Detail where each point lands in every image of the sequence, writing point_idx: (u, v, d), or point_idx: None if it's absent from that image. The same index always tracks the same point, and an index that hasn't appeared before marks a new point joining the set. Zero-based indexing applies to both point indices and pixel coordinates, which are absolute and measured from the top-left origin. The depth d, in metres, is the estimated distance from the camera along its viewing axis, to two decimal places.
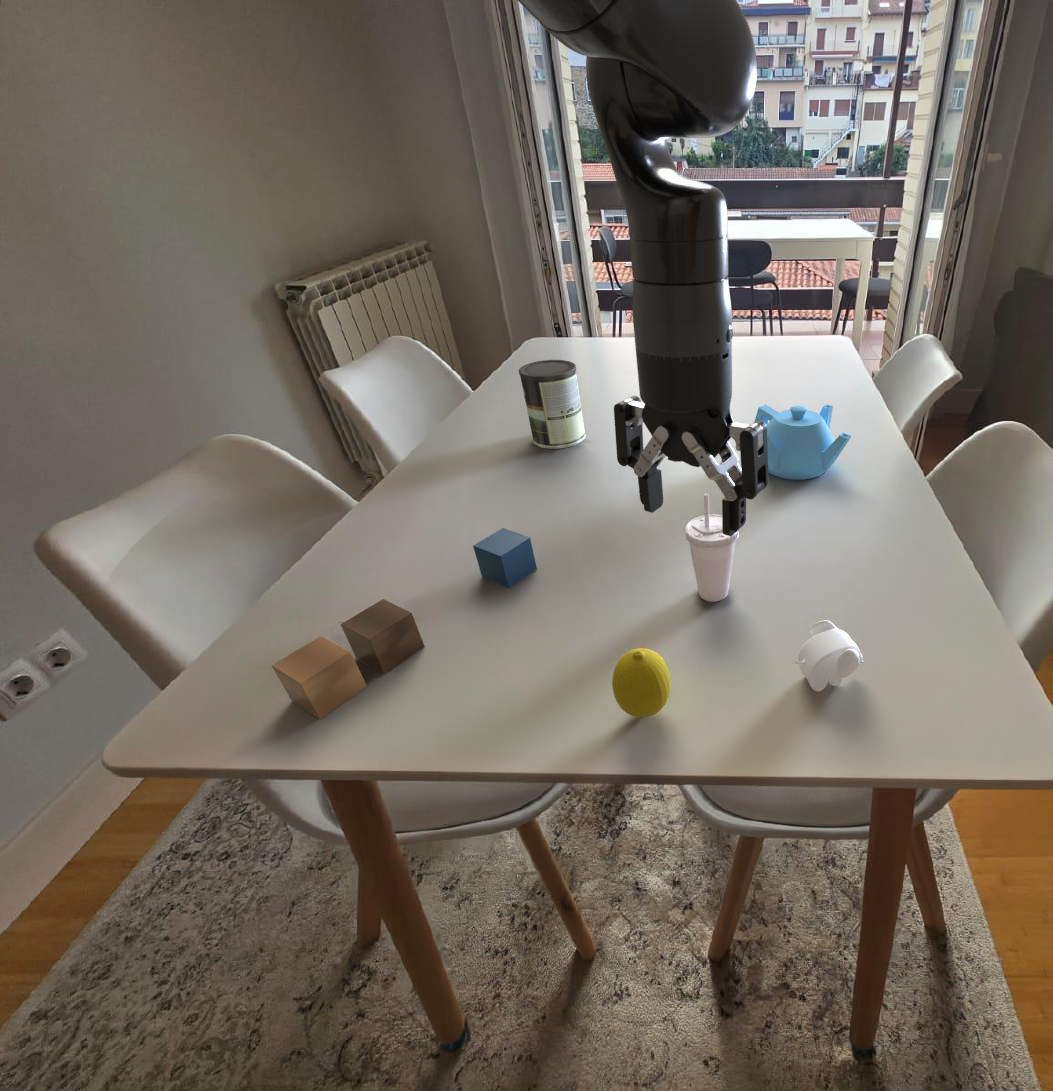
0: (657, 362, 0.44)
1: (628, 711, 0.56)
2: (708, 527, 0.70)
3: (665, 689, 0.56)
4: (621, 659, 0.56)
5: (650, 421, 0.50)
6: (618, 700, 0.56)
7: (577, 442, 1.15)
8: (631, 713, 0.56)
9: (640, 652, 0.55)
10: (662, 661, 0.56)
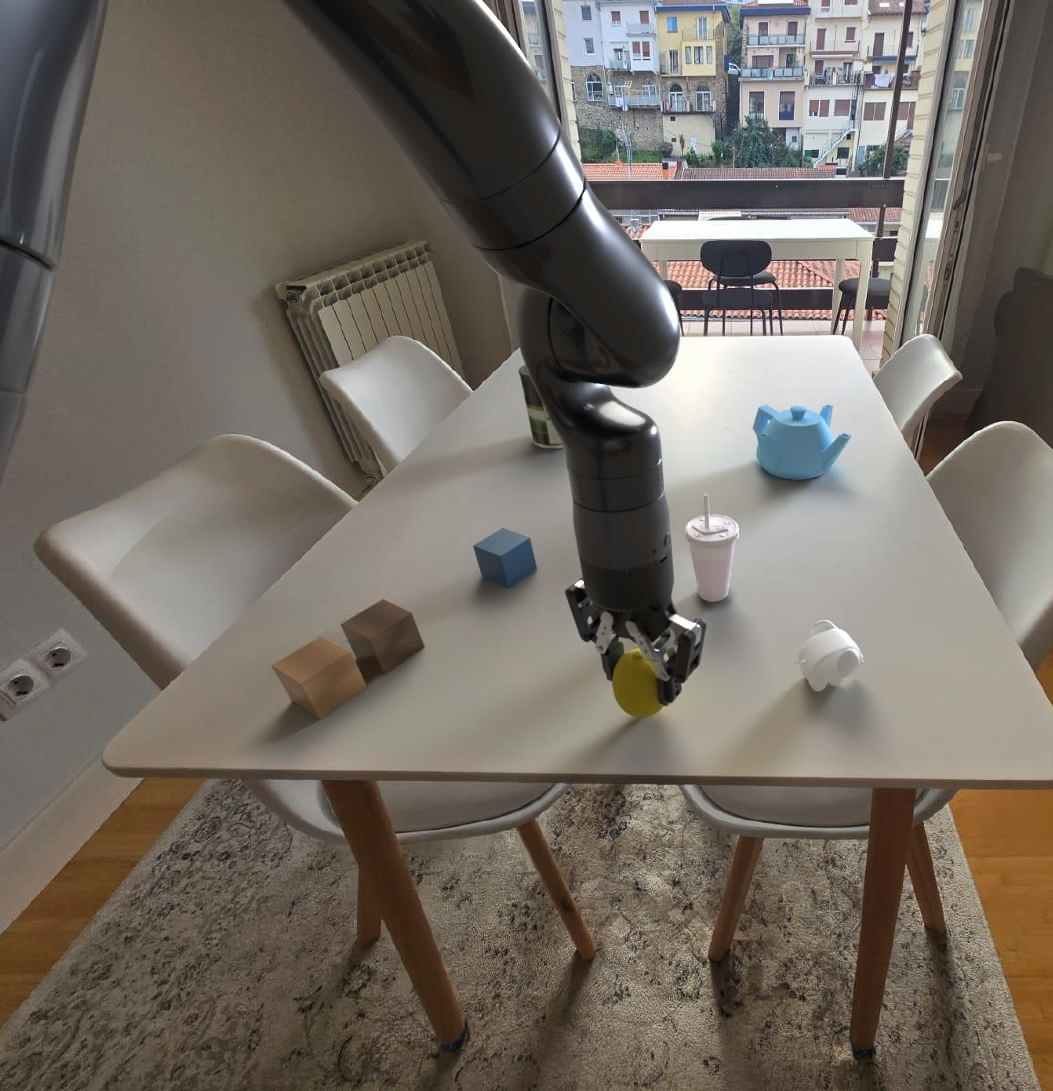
0: (596, 571, 0.46)
1: (628, 711, 0.56)
2: (708, 527, 0.70)
3: None
4: (621, 659, 0.56)
5: None
6: (618, 700, 0.56)
7: None
8: (631, 713, 0.56)
9: (640, 652, 0.55)
10: None
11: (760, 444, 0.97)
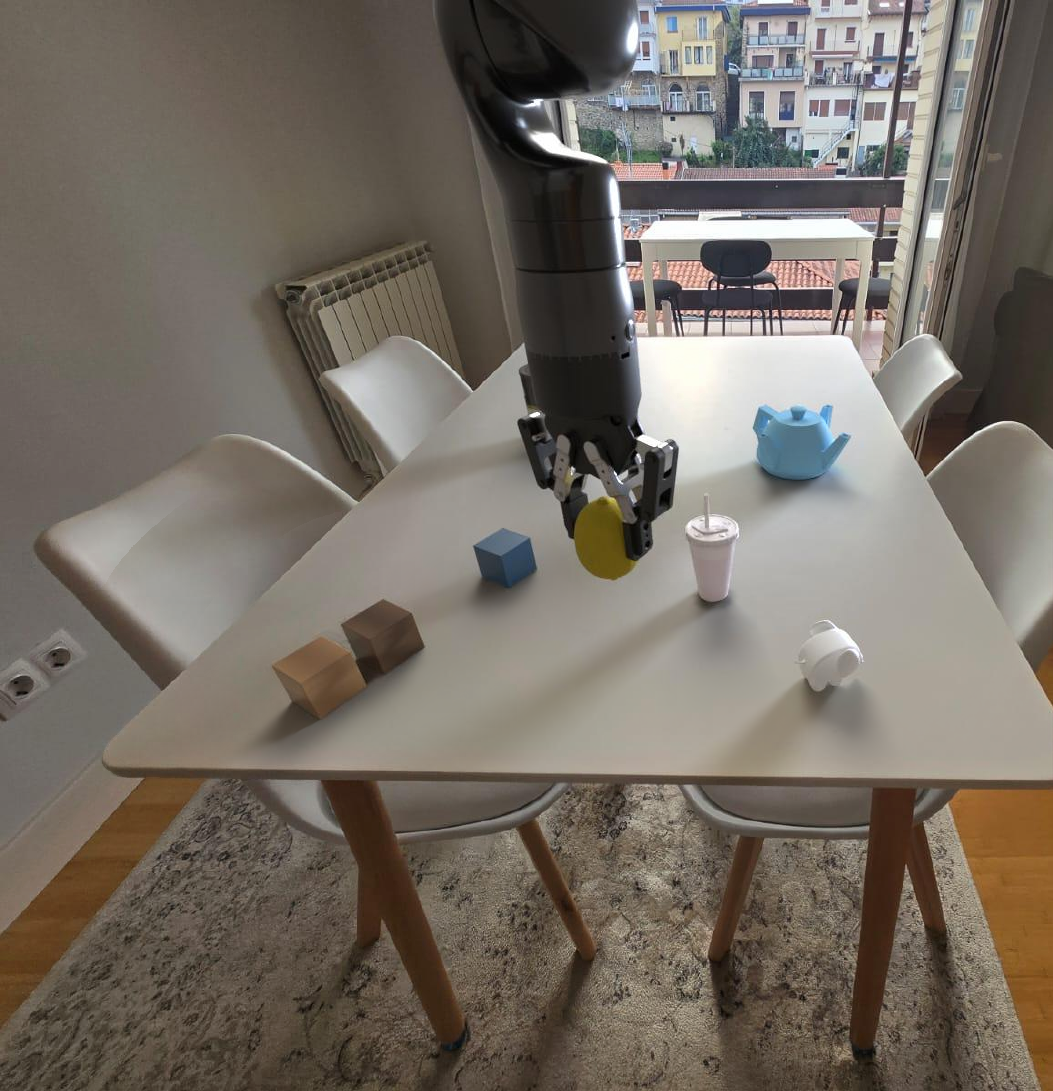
0: (544, 362, 0.38)
1: (592, 568, 0.48)
2: (708, 527, 0.70)
3: None
4: (584, 507, 0.48)
5: (552, 428, 0.45)
6: (580, 555, 0.48)
7: None
8: (595, 571, 0.48)
9: (605, 497, 0.47)
10: None
11: (760, 444, 0.97)
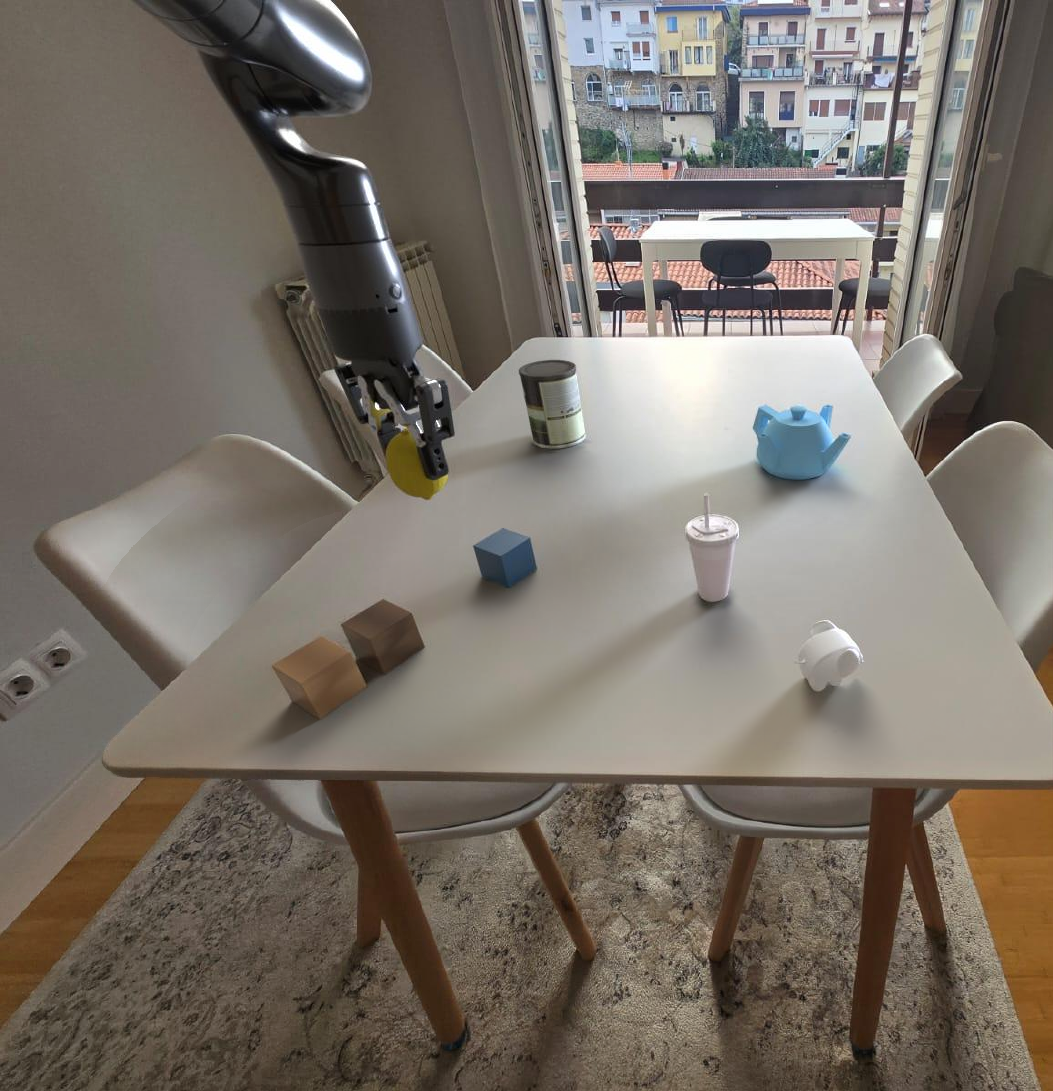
0: (325, 315, 0.50)
1: (400, 486, 0.60)
2: (708, 527, 0.70)
3: None
4: (393, 438, 0.60)
5: (357, 372, 0.57)
6: (390, 475, 0.60)
7: (577, 442, 1.15)
8: (403, 488, 0.60)
9: None
10: None
11: (760, 444, 0.97)
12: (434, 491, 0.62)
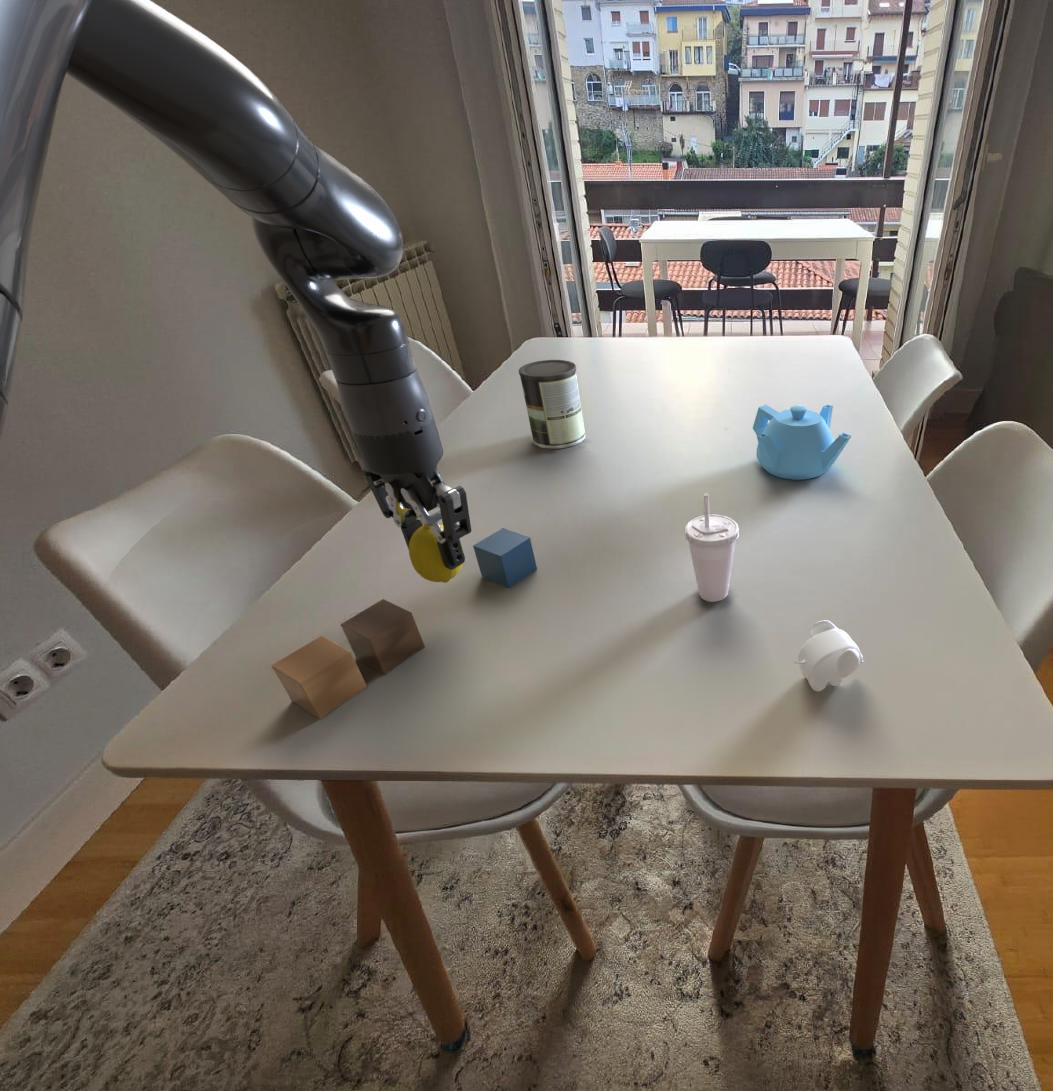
0: (359, 438, 0.57)
1: (421, 574, 0.67)
2: (708, 527, 0.70)
3: None
4: (415, 531, 0.67)
5: (384, 477, 0.64)
6: (413, 565, 0.67)
7: (577, 442, 1.15)
8: (424, 576, 0.67)
9: None
10: None
11: (760, 444, 0.97)
12: (452, 576, 0.69)
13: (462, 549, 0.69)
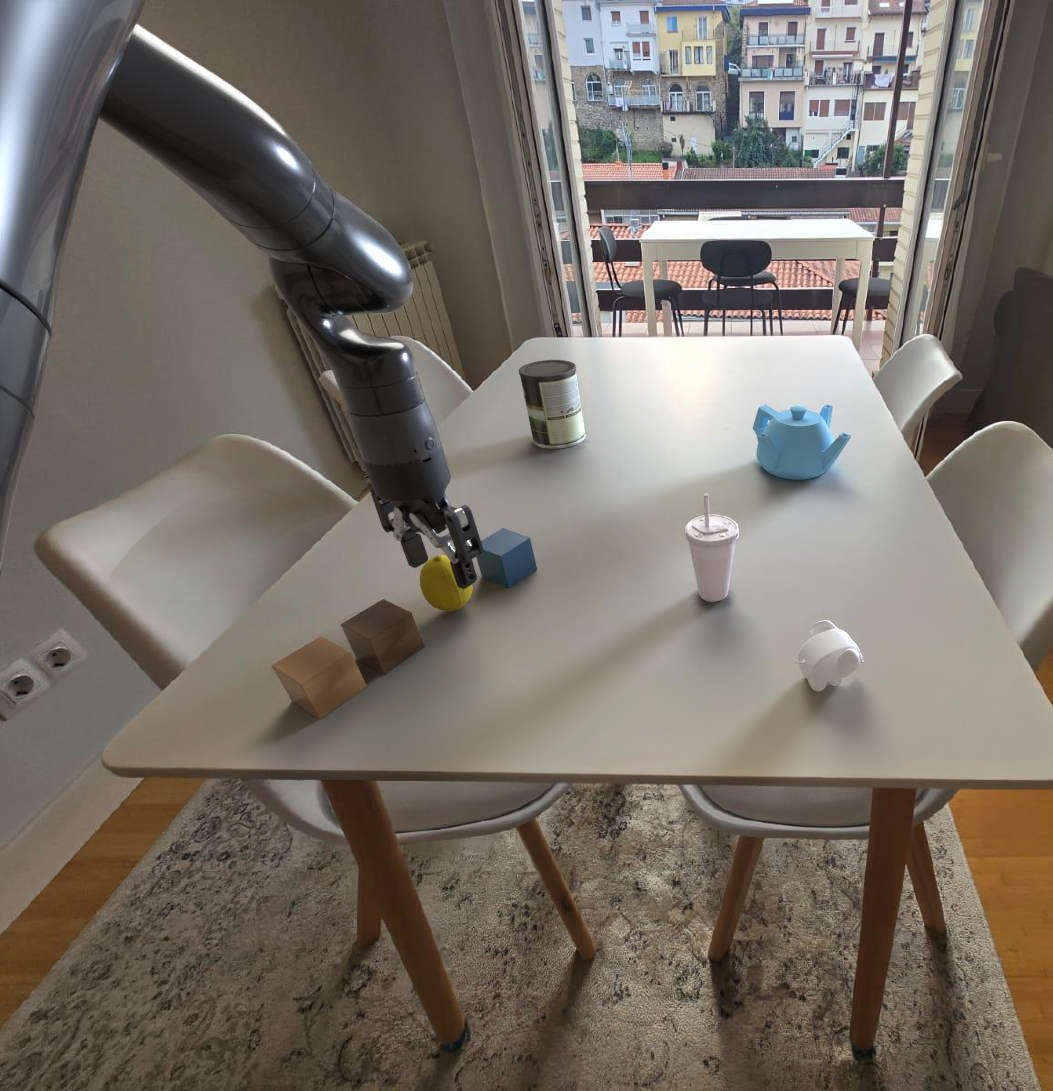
0: (370, 466, 0.59)
1: (432, 604, 0.69)
2: (708, 527, 0.70)
3: None
4: (426, 562, 0.69)
5: (393, 501, 0.65)
6: (423, 595, 0.69)
7: (577, 442, 1.15)
8: (434, 606, 0.70)
9: (439, 555, 0.69)
10: None
11: (760, 444, 0.97)
12: (461, 605, 0.71)
13: None
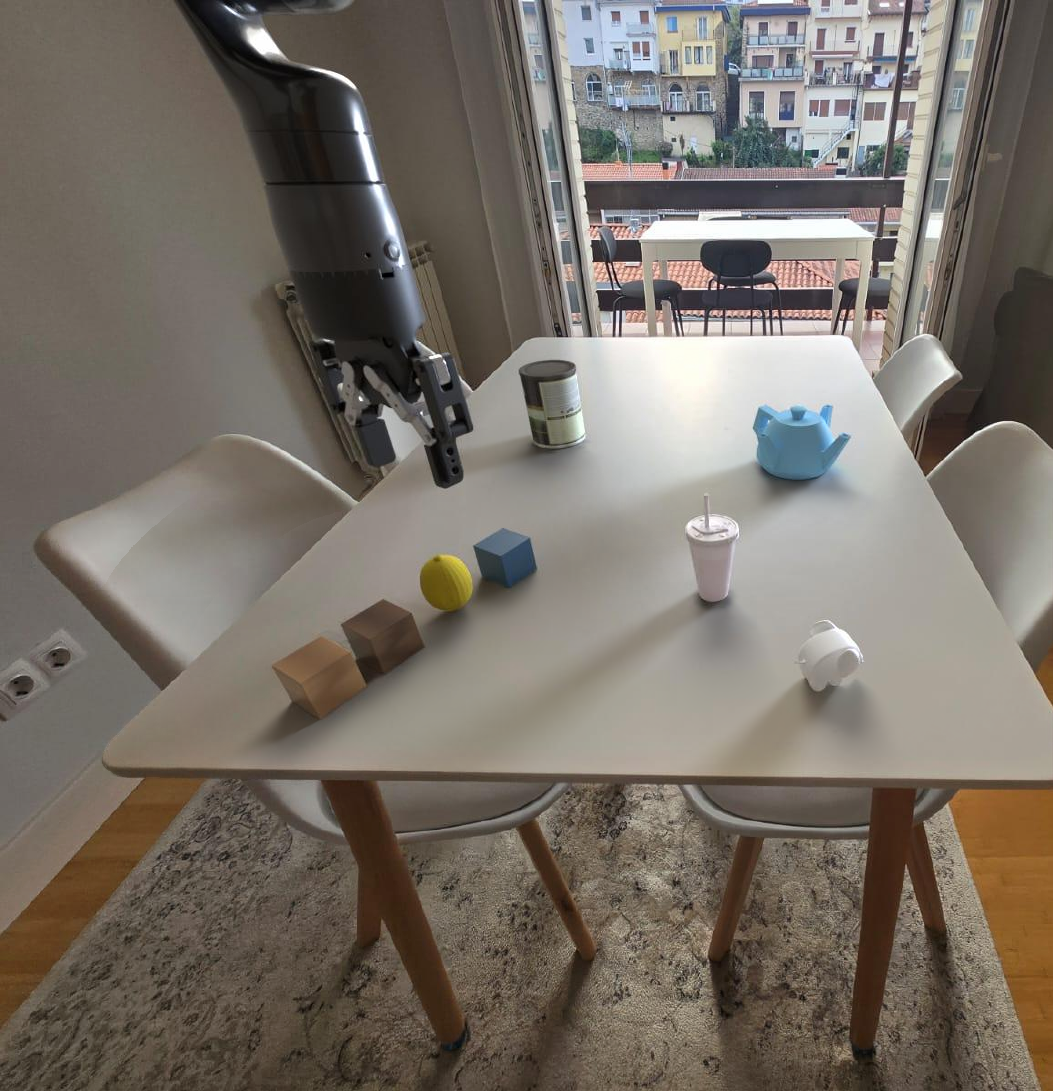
0: (300, 279, 0.39)
1: (432, 604, 0.69)
2: (708, 527, 0.70)
3: (461, 586, 0.69)
4: (426, 562, 0.69)
5: (342, 358, 0.45)
6: (423, 595, 0.69)
7: (577, 442, 1.15)
8: (434, 606, 0.70)
9: (439, 555, 0.69)
10: (460, 564, 0.70)
11: (760, 444, 0.97)
12: (461, 605, 0.71)
13: (471, 579, 0.71)
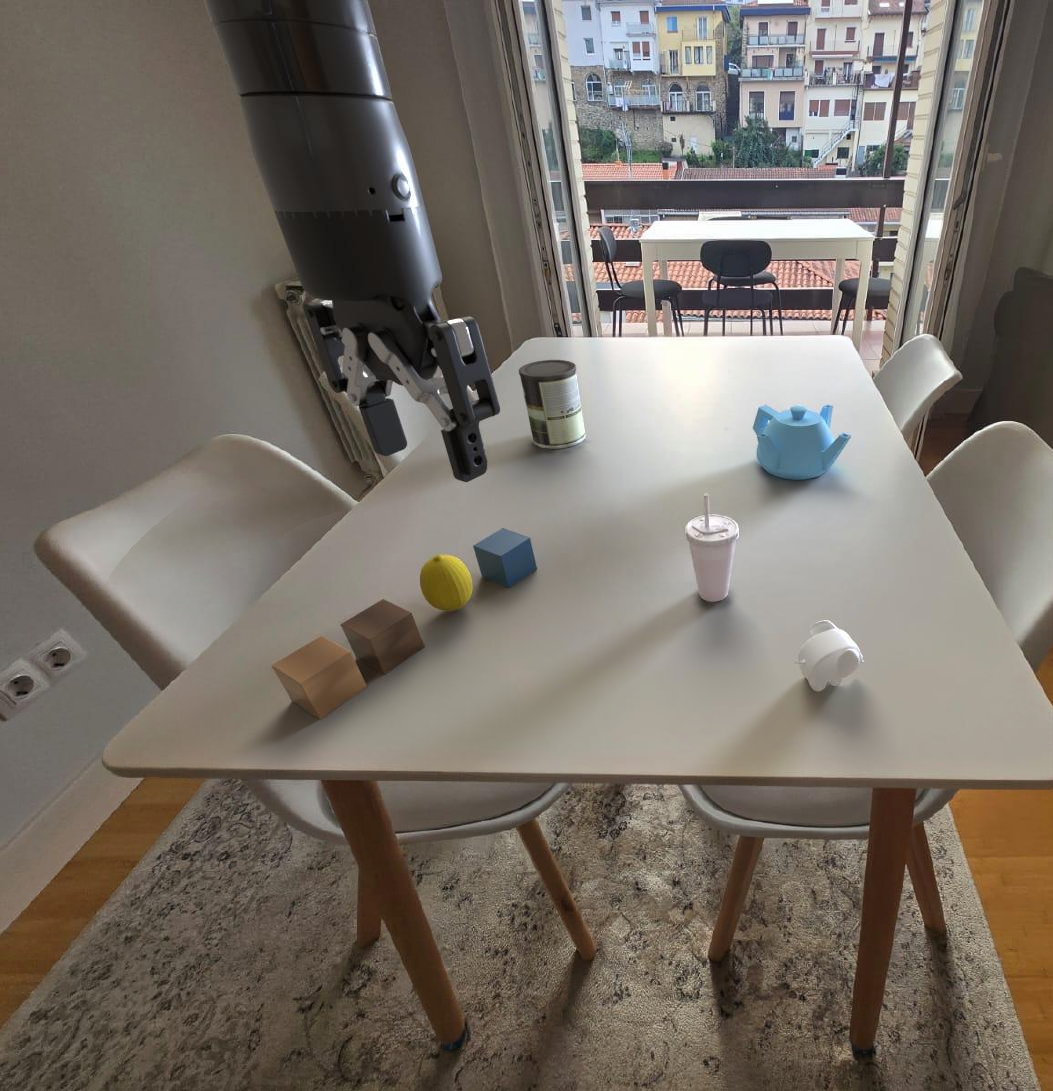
0: (288, 221, 0.31)
1: (432, 604, 0.69)
2: (708, 527, 0.70)
3: (461, 586, 0.69)
4: (426, 562, 0.69)
5: (342, 324, 0.38)
6: (423, 595, 0.69)
7: (577, 442, 1.15)
8: (434, 606, 0.70)
9: (439, 555, 0.69)
10: (460, 564, 0.70)
11: (760, 444, 0.97)
12: (461, 605, 0.71)
13: (471, 579, 0.71)
